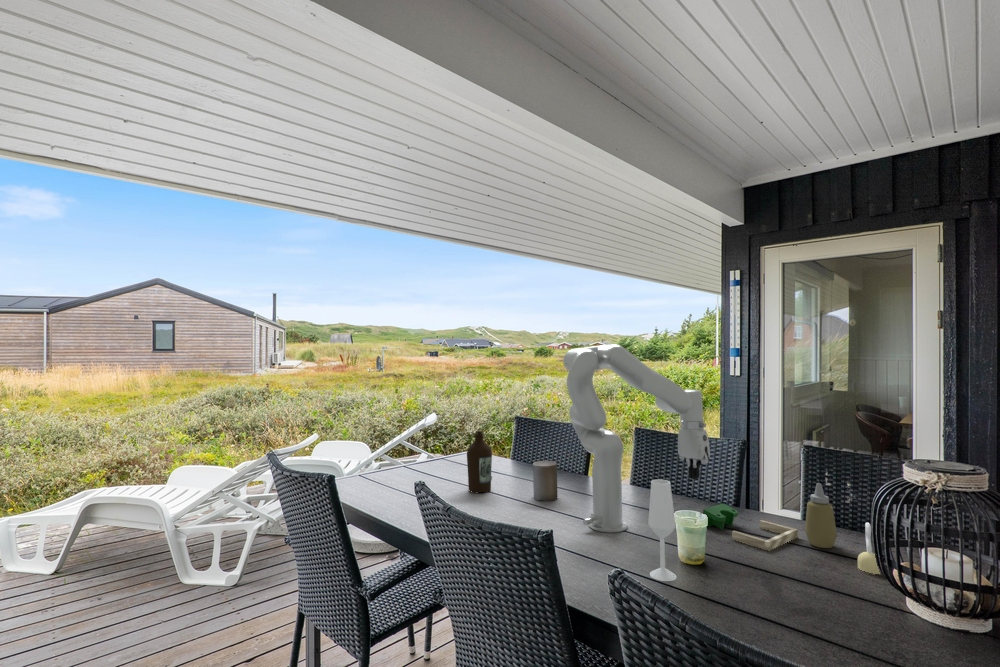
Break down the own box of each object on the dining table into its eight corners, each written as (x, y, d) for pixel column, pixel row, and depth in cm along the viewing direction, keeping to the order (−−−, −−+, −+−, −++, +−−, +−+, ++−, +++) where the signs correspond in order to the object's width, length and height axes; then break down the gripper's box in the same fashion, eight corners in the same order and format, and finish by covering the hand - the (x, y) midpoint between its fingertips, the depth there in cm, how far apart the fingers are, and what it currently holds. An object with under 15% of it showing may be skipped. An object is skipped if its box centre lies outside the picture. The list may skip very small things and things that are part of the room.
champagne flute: (655, 567, 136) (653, 477, 137) (680, 574, 131) (678, 481, 132) (645, 576, 131) (643, 482, 131) (670, 583, 126) (668, 486, 127)
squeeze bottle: (833, 541, 152) (830, 481, 153) (841, 551, 145) (839, 488, 145) (802, 538, 155) (800, 479, 156) (809, 548, 147) (806, 486, 148)
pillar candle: (561, 496, 203) (560, 458, 204) (550, 502, 195) (549, 463, 196) (540, 493, 209) (539, 456, 209) (528, 499, 200) (527, 461, 201)
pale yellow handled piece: (883, 576, 129) (881, 528, 129) (858, 571, 132) (856, 525, 132) (881, 567, 134) (879, 521, 134) (856, 563, 137) (855, 518, 137)
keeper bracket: (769, 551, 146) (768, 542, 146) (732, 539, 155) (731, 531, 155) (798, 537, 156) (797, 529, 156) (761, 527, 165) (761, 519, 165)
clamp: (717, 542, 164) (716, 521, 161) (702, 533, 169) (700, 512, 166) (740, 522, 169) (739, 501, 166) (724, 513, 174) (722, 493, 171)
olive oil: (462, 490, 214) (461, 431, 215) (480, 485, 221) (480, 428, 222) (478, 495, 206) (478, 433, 207) (497, 490, 214) (496, 430, 215)
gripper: (717, 426, 173) (720, 480, 172) (680, 422, 185) (682, 472, 184) (705, 428, 168) (707, 484, 168) (667, 424, 181) (669, 476, 180)
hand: (694, 478), depth 176 cm, fingers closed
